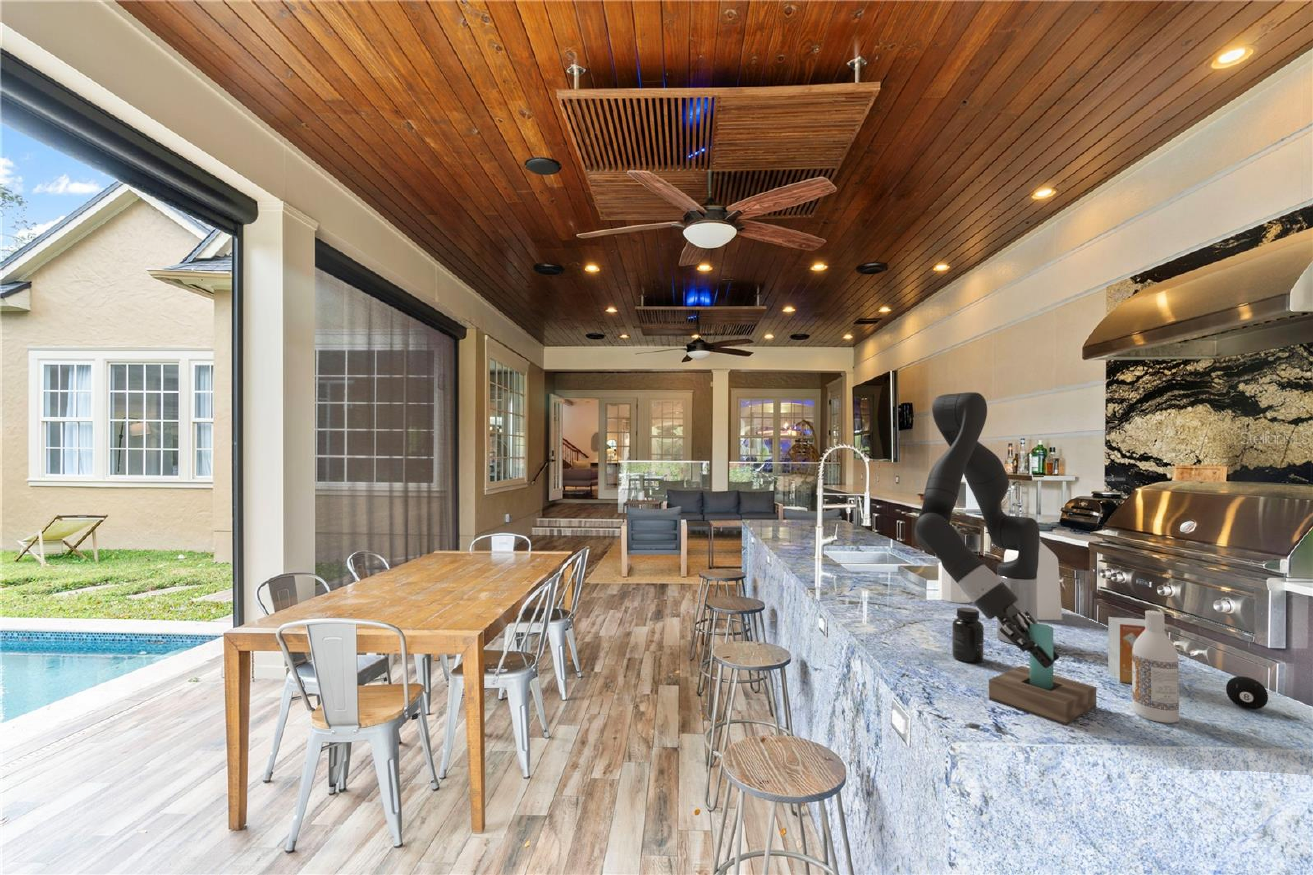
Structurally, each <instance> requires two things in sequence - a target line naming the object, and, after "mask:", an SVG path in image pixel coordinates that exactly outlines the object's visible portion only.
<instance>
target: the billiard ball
mask: <svg viewBox="0 0 1313 875" xmlns="http://www.w3.org/2000/svg"><path fill="white" fill-rule="evenodd" d="M1225 691H1226V692H1225V693H1226V694H1227V697H1228V698H1229V700H1230V701H1231V702H1232V703H1234V704H1235V705H1236V706H1238V707H1240V708H1242V709H1243V708H1244V709H1247V710H1259V709H1263V708H1264V707H1265V706H1266V704H1268V701H1269V693H1268V691H1267V689H1266V688H1265V686H1264V685H1263V684H1262V683H1261V682H1259V681H1258V680H1256V679H1254V678H1251V677H1248V676H1247V677H1246V676H1233V677H1231V678H1230V679H1229V680H1228V681H1227V683H1226V686H1225Z"/></svg>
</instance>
